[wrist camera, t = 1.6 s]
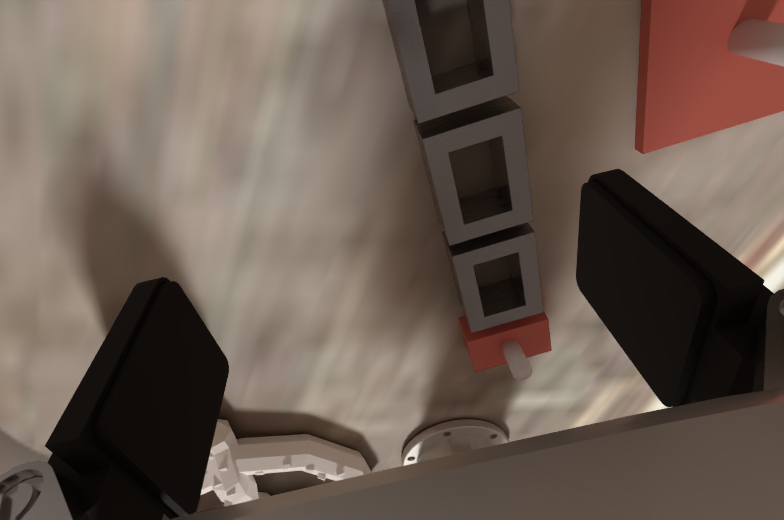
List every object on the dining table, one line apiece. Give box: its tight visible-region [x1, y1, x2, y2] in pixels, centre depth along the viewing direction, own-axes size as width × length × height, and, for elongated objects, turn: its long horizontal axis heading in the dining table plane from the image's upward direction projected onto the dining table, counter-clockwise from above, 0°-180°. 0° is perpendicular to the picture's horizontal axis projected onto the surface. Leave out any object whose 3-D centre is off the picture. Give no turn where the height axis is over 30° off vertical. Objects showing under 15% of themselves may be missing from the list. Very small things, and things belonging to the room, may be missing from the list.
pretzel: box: [201, 419, 372, 506], centre depth 50 cm, size 28×24×6 cm
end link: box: [382, 0, 519, 123], centre depth 25 cm, size 8×6×4 cm
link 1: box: [414, 95, 533, 246], centre depth 30 cm, size 8×6×4 cm
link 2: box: [442, 222, 543, 333], centre depth 35 cm, size 8×6×4 cm
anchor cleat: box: [459, 311, 551, 380], centre depth 38 cm, size 4×7×6 cm, turn 106°
